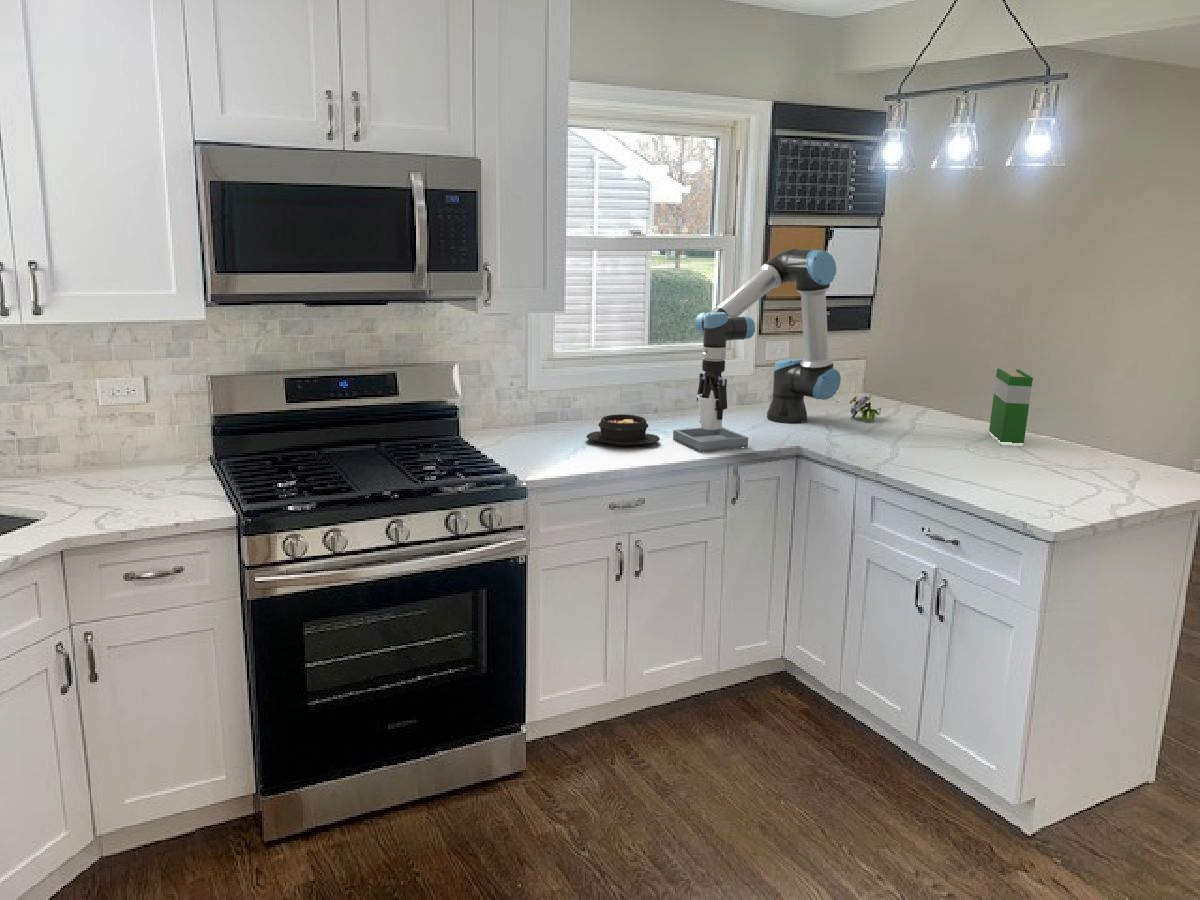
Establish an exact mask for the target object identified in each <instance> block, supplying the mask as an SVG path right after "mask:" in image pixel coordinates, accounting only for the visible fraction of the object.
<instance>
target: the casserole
mask: <svg viewBox="0 0 1200 900" xmlns="http://www.w3.org/2000/svg"><path fill="white" fill-rule="evenodd" d="M597 424H598V427H599V428H600V431H599V430H598V431H591V432H590V433H588V434H586V438H587V439H588V440H589V441H595V442H602V443H604V444H607V445H611V446H614V445H615V446H614V447H634V445H635V446H637V445H649V444H650V445H651V444H654V443H657V442H659V441H660V440H661V438H660V437H659V436H658V435H657V434H651V433H647V429H648V427H649V424H648V423H647V420H646V418H645V417H643V416H639V415H635V414H627V413H626V414H622V413H621V414H620V413H618V414H608V415H606V416H603V417H601V419H600V422H598V423H597Z"/></svg>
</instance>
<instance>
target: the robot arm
mask: <svg viewBox="0 0 1200 900" xmlns="http://www.w3.org/2000/svg"><path fill="white" fill-rule="evenodd" d="M836 274H837V264H836V261H835V258H834V257H833V255H832V254H830V253H829V252H828V251H826V250H821V249H817V248H816V249H811V248H809V249H808V248H807V249H806V248H805V249H804V248H803V249H801V248H790V249H786V250H784V251H781V252H780V253H778V254H776V255H775V256H773V257H771V258H770V259H769V260H767V261H766V262H765V263H763V264H762V265H761V266H760V267H759V271H758V272H757V273H756V274H755V275H753V276H752V277H751V278H750V279H748V280H747V281H746V282H745V283H744V284H743V285H741V286H740V287H739V288H738V289H736V290H735V291H734V292H733V293H732V294H730V295H729V296H728V297H727V298H725V299H724V300H723V301H722V302H721V303H719V304H718V305H717V306H716V307H714V308H713V309H712V310H711V311H709V312H706V311H705V312H701V313H699V314H697V316H696V318H695V321H694V327H695V329H696V332H698V333H699V334H702V335H703V340H702V341H703V342H702V344H703V347H702V358H703V359H702V364H701V365H702V366H701V370H702V371H703V372H704V373H703V372H702V373H699V382H698V389H697V394H696V395H699V394H702V398H706V399H709V395H710V394H711V392H713V393H712V394H714V399H719V400H716V404H715V405H716V409H714V429H722V427H723V417H724V416H723V415H724V414H723V413H724V410H727V409H728V395H727V394H728V393H727V383H728V379H726V378H723V377H722V374H723V372H725V370H726V369H725V368H726V360H725V359H726V358H727V357H726V356H727V355H726V353H727V341H735V340H736V341H739V340H743V341H744V340H747V339H750V338H752V337H753V336H754V335H755V332H756V324H755V321H754V320H753V318H752V317H749V316H741V315H742V314H743V313H745V311H747V310H748V309H749V308H750V307H752V306H753V305H754V304H756V302H757V301H759V300H760V299H761V298H762V297H764V296H765V295H766V294H767V293H769V292H770V291H771V290H772V289H776V288H777V289H778V288H779V287H780V286H781V285H782V284H785V283H791V282H792V283H795V291H796V292H798V294H799V295H800V300H801V318H802V320H801V321H802V340H803V341H802V342H803V356H804V357H803V358H788V359H787V358H786V359H779V360H777V361H776V362H775V364H774V370H773V384H772V385H773V386H772V388H773V389H772V399H771V402H770V404H769V407H768V410H767V412H766V419H767V418H768V420H769V419H770V420H769V421H772V420H773V421H772V422H776V421H778V422H777V423H783V422H800V423H803V422H802V421H805V420H807V421H808V412H807V407H806V404H805V401H804V398H805V397H808V398H812V399H815V400H824V401H826V400H829V399H831V398H833V397H834V396H835V395H836V393H837V391H839V388H840V385H841V379H842V378H841V374H840V372H839V370H837V369H836V368H834V360H833V359H832V358H831V357H829V344H828V343H829V342H828V340H829V338H828V337H829V336H828V318H827V317H828V316H827V315H828V313H827V296H826V294H827V291H828V290H829V289H831V288H830V287H831V283H832V282H833V281H834V279H835V277H836ZM696 401H697V402H698V397H697V396H696ZM805 422H806V421H805ZM699 424H700V425H701V420H700V419H699Z"/></svg>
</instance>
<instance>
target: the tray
mask: <svg viewBox="0 0 1200 900" xmlns="http://www.w3.org/2000/svg"><path fill="white" fill-rule="evenodd" d="M672 434H673V435H672V441H674V440H675V442H676V441H677V442H676V443H678V444H681V445H683V446H685V447H688V448H690V449H691V450H693V449H694V451H696V452H698V453H708V452H710V453H711V452H718V451H719V450H721V451H727V450H726V449H730V450H735V449H734V448H740V449H743V448H742V447H748V448H749V437H748V436H746V435H743V434H741V433H738V432H735V431H734V430H731V429H728V428H726V427H723V426H722V429H717V430H706V429H703V428H702V427H701V426H700V427H694V428H693V427H691V428H682V429H673V432H672ZM719 452H720V451H719Z"/></svg>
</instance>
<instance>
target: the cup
mask: <svg viewBox="0 0 1200 900" xmlns="http://www.w3.org/2000/svg"><path fill="white" fill-rule="evenodd" d="M696 395H697V394H696ZM697 397H698V401H697V403H698V410H699V421H700V420H701V424H700V428H701V427H702V428H703V429H706V430H717V429H714V409H716V405H715V404H716V400H719V399H714V394H713V393H710V395H709V399H706V398H702V394H699V395H697V396H696V398H697Z"/></svg>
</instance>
